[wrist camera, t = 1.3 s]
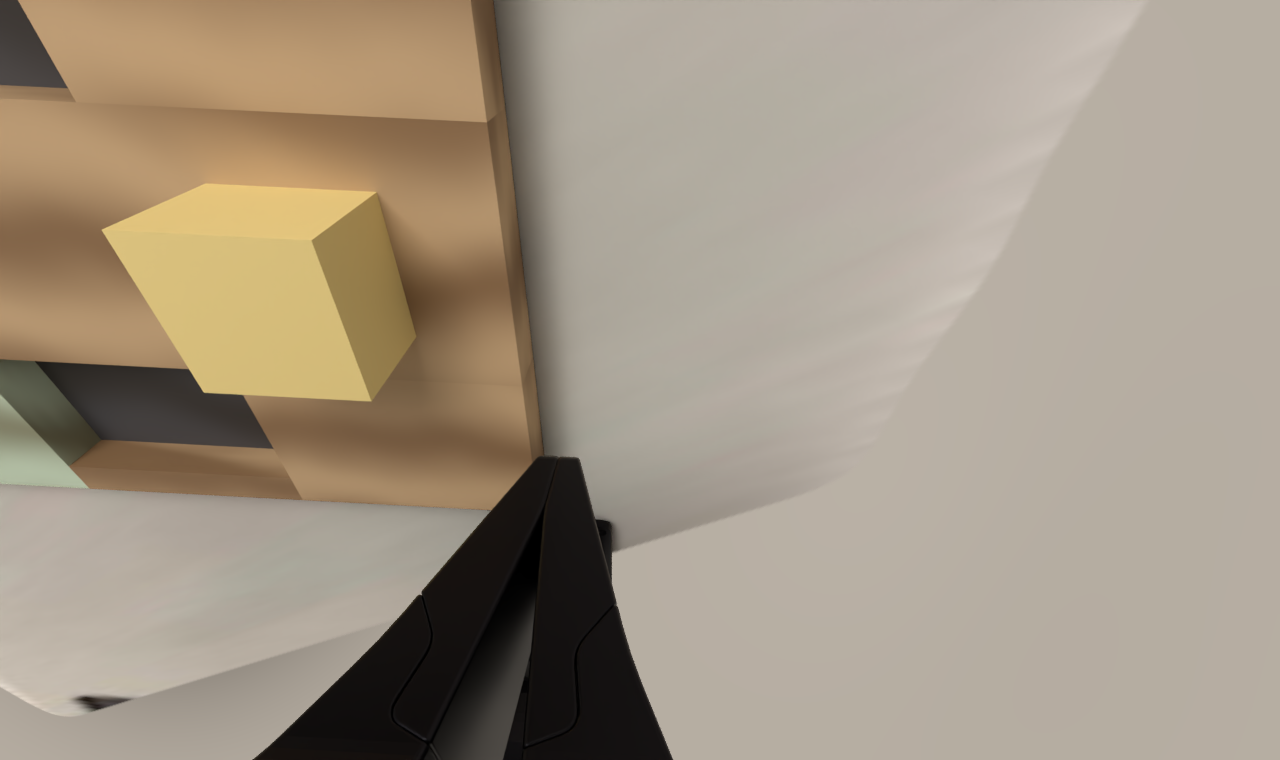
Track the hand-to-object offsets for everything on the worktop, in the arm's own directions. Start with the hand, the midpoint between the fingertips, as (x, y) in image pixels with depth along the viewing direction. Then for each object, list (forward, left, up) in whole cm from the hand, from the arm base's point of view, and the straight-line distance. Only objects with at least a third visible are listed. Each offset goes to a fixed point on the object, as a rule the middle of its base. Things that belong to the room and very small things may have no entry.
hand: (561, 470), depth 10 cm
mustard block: (0, +9, -8) cm, 12 cm away
